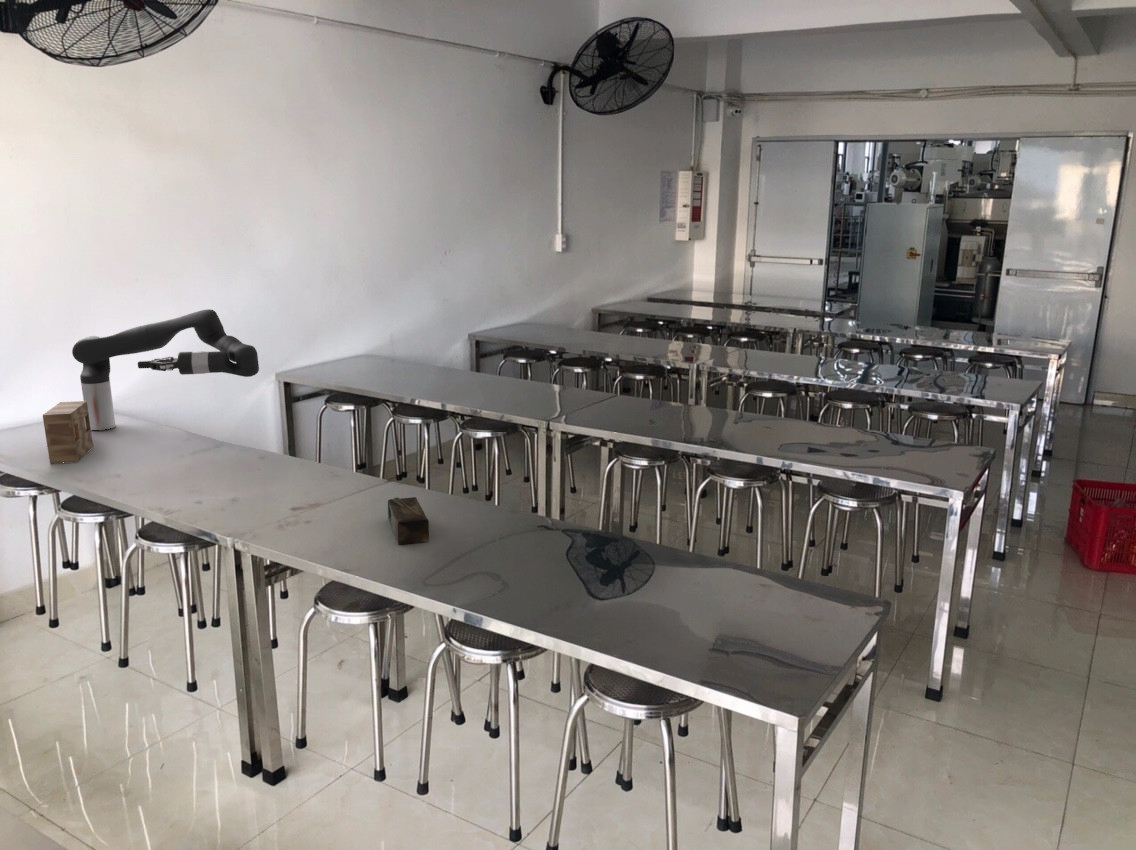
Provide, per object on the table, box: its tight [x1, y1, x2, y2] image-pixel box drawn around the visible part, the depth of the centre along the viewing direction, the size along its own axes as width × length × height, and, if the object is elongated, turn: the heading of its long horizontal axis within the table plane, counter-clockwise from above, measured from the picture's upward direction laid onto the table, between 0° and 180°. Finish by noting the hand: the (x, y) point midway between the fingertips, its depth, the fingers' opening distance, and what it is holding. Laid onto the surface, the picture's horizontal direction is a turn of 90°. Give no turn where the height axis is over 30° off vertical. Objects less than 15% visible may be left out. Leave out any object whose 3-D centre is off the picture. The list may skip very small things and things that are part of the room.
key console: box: [42, 400, 94, 464], centre depth 290 cm, size 18×8×16 cm, turn 13°
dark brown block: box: [387, 496, 430, 546], centre depth 227 cm, size 8×19×7 cm, turn 18°
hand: (138, 364), depth 293 cm, fingers closed
